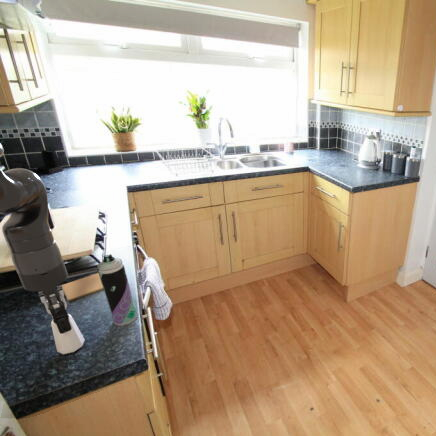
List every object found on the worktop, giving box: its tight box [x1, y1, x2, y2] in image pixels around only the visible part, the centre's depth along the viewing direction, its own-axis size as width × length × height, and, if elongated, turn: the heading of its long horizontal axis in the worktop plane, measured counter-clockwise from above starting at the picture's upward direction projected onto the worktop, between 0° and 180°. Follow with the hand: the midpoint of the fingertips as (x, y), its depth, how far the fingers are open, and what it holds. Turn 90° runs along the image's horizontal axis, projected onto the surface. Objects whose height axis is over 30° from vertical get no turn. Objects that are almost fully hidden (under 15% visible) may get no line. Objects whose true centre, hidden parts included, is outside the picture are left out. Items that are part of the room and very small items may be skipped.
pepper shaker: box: [50, 313, 86, 355], centre depth 75 cm, size 5×5×11 cm
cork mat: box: [60, 272, 104, 302], centre depth 98 cm, size 12×10×1 cm
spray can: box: [97, 253, 138, 327], centre depth 83 cm, size 6×6×20 cm
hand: (63, 325), depth 74 cm, fingers closed on pepper shaker, 4 cm apart
